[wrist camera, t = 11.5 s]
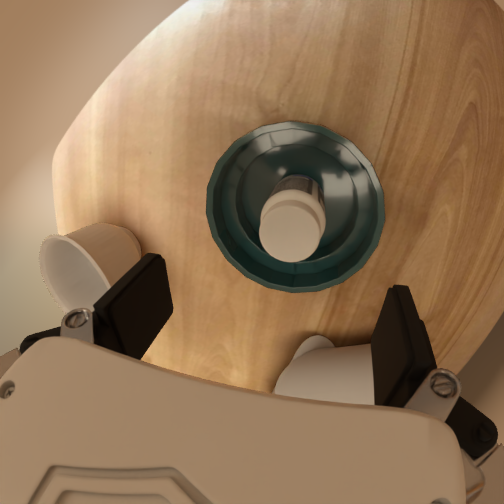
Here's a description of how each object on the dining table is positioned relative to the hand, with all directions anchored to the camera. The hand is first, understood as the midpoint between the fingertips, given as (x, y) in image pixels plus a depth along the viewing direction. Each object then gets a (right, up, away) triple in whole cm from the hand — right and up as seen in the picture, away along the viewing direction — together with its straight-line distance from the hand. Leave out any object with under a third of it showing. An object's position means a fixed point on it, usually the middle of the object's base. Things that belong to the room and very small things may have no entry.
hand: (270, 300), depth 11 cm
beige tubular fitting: (+11, -13, +23) cm, 29 cm away
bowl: (+4, +7, +15) cm, 17 cm away
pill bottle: (+4, +7, +14) cm, 16 cm away
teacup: (-16, +2, +22) cm, 27 cm away
